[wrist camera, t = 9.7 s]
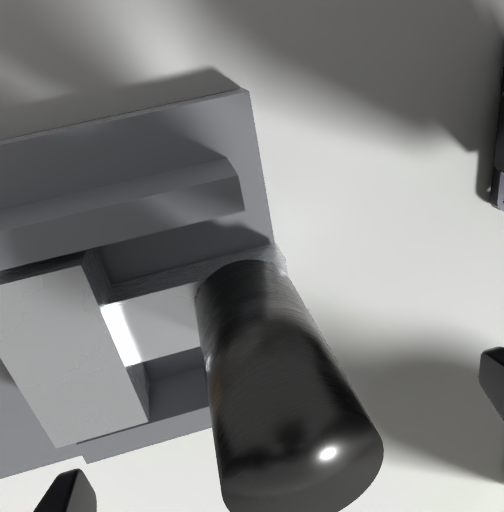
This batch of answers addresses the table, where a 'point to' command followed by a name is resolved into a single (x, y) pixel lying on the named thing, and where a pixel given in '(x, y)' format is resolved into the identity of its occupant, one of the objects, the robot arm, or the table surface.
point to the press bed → (131, 237)
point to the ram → (214, 362)
